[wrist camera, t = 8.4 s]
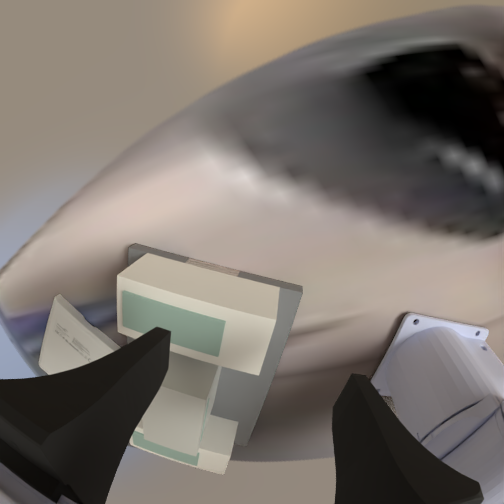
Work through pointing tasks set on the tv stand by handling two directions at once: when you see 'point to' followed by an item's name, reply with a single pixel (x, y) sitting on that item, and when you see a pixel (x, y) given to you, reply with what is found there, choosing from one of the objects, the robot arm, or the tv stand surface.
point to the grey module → (182, 404)
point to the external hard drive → (71, 340)
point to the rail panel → (210, 337)
